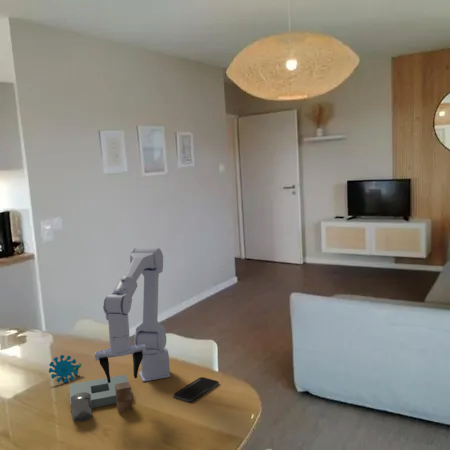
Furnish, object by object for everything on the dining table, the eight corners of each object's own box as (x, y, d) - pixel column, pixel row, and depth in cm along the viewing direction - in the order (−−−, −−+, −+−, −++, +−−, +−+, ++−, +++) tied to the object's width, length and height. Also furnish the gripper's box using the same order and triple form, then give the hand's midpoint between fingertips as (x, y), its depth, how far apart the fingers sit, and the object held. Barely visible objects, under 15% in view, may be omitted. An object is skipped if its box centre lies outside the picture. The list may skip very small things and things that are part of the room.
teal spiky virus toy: (51, 383, 153) (47, 355, 159) (47, 390, 157) (44, 363, 163) (84, 378, 159) (80, 352, 165) (80, 386, 163) (76, 360, 169)
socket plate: (126, 381, 156) (125, 374, 156) (132, 400, 143) (132, 392, 143) (70, 391, 150) (69, 384, 150) (71, 412, 137) (70, 404, 137)
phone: (171, 395, 143) (201, 376, 156) (172, 398, 144) (201, 379, 156) (191, 401, 139) (220, 381, 151) (192, 404, 139) (220, 385, 152)
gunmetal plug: (91, 410, 138) (90, 390, 137) (92, 419, 133) (91, 399, 132) (72, 414, 136) (70, 394, 135) (72, 423, 131) (70, 403, 130)
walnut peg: (130, 403, 141) (128, 381, 140) (132, 409, 137) (130, 387, 136) (116, 406, 139) (115, 384, 139) (118, 412, 136) (116, 389, 135)
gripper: (94, 342, 130) (98, 389, 131) (146, 335, 134) (149, 380, 136) (92, 335, 136) (96, 379, 138) (142, 327, 141) (145, 370, 142)
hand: (122, 379), depth 137 cm, fingers open, 7 cm apart
